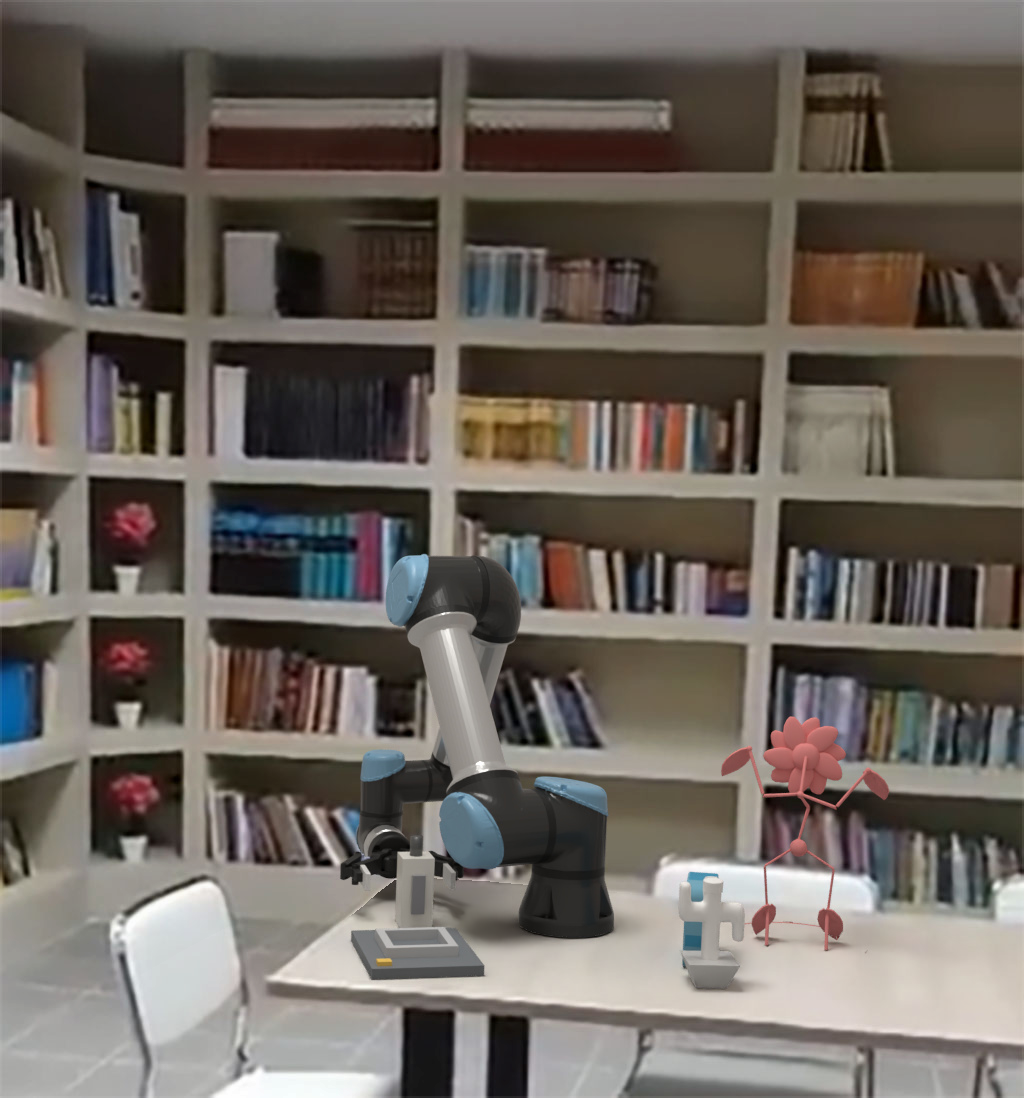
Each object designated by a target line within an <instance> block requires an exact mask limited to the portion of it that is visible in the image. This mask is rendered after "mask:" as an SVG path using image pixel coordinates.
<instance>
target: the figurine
mask: <svg viewBox="0 0 1024 1098" xmlns="http://www.w3.org/2000/svg"><path fill="white" fill-rule="evenodd" d="M723 891H724V880H723V879H721V878H719V876H718V877H714V876H707V877H705V878H704V880H703V901H701V902H692V901H691V885H690V883H689V882H687V881H681V882H680V884H679V888H678V893H679V894H678V915H679V918H680V920H682V921H683V922H684V921H687V922H702V941H701V951H685V950H683V949H682V950H681V949H680V950H679V952H680V955H681V957H682V958H683V960H684V963H685V965H686V967H685V968H686V971H687V973H688V976H689V978H690V980H691V982H692V983H693V985H694V986H695V988H696V989H727V988H728V987H729V985H730V984H731V982H732V981H733V979H734V977H735V975H736V974H737V972H738V971H739V968H740V967H741V964H740V963H739V962H738V961H737V959H736V958H735V957H734V955H733V954H732V952H731V951H729V950H720V938H721V937H720V933H721V931H720V930H721V923H731V937H732V940H733V941H735V942H743V940H744V938H745V920H746V919H745V917H746V913H745V907H744V906H743V903H742V904H741V903H740V902H731V901H730V902H728V901H727V902H726V901H725V902H723V901H722V893H723Z"/></svg>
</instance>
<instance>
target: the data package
mask: <svg viewBox="0 0 1024 1098" xmlns="http://www.w3.org/2000/svg"><path fill="white" fill-rule="evenodd" d="M707 876H714V877H718V878H719V874H718V873H715V872H714V873H713V872H700V871H699V872H698V871H689V872H688V875H687V879H686V882H689V883H690V885H691V901H692V902H701V901H703V880H704V878H705V877H707ZM682 937H683V940H682V950H685V951H701V941H702V922H687V921H683V936H682ZM681 965H682V966H683V967H685V968H686V965H685V963H684V960H683V958H682V964H681Z"/></svg>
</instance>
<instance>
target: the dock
mask: <svg viewBox="0 0 1024 1098" xmlns="http://www.w3.org/2000/svg"><path fill="white" fill-rule="evenodd" d="M350 934H351V935H350V941H351V943H352V945H353V947H354V949H355V951H356V952H357V955H358V956H359V958H360V960H361V963H363V966H364V968H365V969H366V971H367V973H368V976H369V977H370V979H371V980H375V981H376V980H402V979H430V978H431V979H435V978H437V979H439V978H458V977H459V978H463V977H485V964H484V963H483V961H481V959H480V958H479V956H478V955H477V954H476V953H475V951H474V950H473V949H472V947H471V946H470V945H469V943H468V942H467V940H466V939H465V938H464V937H463V935H462V934H461V933H460V931H458V929H457V928H456V927H445V926H432V927H421V928H399V927H394V928H393V927H389V928H387V927H386V928H385V927H384V928H374V929H364V930H363V929H361V930H359V929H358V930H351V933H350Z"/></svg>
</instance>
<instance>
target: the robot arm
mask: <svg viewBox="0 0 1024 1098" xmlns="http://www.w3.org/2000/svg"><path fill="white" fill-rule="evenodd" d="M518 589H519V588H518V587H517V584H516V582H515V580H514V578H513V576H512V575H511V574H510V572H509V570H507V569H506V568H505V566H503V565H502V564H501V563H499V562H497V561H496V560H494V559H492V558H490V557H487V556H483V555H471V556H470V555H428V554H426V553H422V554H421V555H420V554H419V555H418V554H417V555H406V556H403V557H401V558H400V559H399V560H398V561H396V563H395V564H394V565H393V567H392V569H391V571H390V574H389V577H388V581H387V585H386V589H385V590H386V591H385V611H386V616H387V619H388V621H389V622H390V623H391V624H393V625H394V626H397V627H399V628H400V627H404V629H405V632H406V636H407V640H408V642H409V643H410V644H411V645H412V646H414V647H416V648H419V650H420V653H421V654H420V655H421V659H422V662H423V667H424V671H425V674H426V678H427V683H428V686H429V690H430V693H431V698H432V701H433V705H434V710H435V713H436V718H437V721H438V725H439V728H438V732H437V735H436V738H435V743H434V746H433V748H432V749H433V750H432V751H431V755H430V759H429V758H428V759H416V760H406V758H405V757H406V756H405V754H404V752H402V751H400V750H397V749H396V750H395V749H381V748H380V749H371V750H368V751H366V752H365V753H364V755H363V757H362V762H361V769H360V778H359V779H360V811H359V818H358V819H359V820H358V822H359V823H358V825H357V827H356V829H355V842H356V845H357V846H358V847H357V848H358V849H359V850H358V851H354V852H353V855H352V856H350V857H349V858H347V859H346V860H344V861H343V862H341V863H340V873H339V879H340V880H341V881H345V880H349V879H351V885H352V886H358V885H361V887H362V888H363V890H364V891H365V892H371V885H372V883H371V880H372V876H374V875H377V876H380V877H382V878H384V879H389V880H394V879H395V880H396V879H397V854H398V852H410V840H408V837H406V836H405V834H403V833H402V832H403V815H404V814H403V813H404V805H405V804H420V803H433V802H435V803H436V802H441V804H440V808H439V815H438V816H439V818H440V821H439V822H438V825H439V832H440V836H441V839H442V843H443V845H444V847H445V850H446V851H447V852H448V855H449V856H450V857H449V856H445V855H443V854H439V853H437V852H435V851H434V850H428V851H427V852H430V854H431V855H432V856H433V857H434V858H435V867H434V877H439V878H442V881H443V882H444V884H445V885H446V886H447V887H448V889H450V891H451V890H456V884H457V883H456V881H458V879H463V878H464V869H465V868H466V869H470V870H471V869H472V870H474V869H477V870H478V869H483V870H493V869H496V868H502V867H503V868H505V867H513V866H525V865H531V874H530V879H529V881H528V883H527V887H526V890H525V892H524V895H523V898H522V901H521V903H520V906H519V910H518V921H517V923H518V925H519V927H520V928H522V929H523V930H526V931H528V932H530V933H534V934H537V935H543V936H548V937H549V936H550V937H555V938H556V937H557V938H573V939H575V938H592V937H599V936H602V935H605V934H608V933H610V932H612V931H613V930H614V926H615V924H614V923H615V913H614V909H613V905H612V902H611V898H610V895H609V891H608V888H607V887H608V886H607V883H606V879H605V878H606V877H605V876H606V873H605V872H606V857H607V856H606V853H607V852H606V850H607V831H608V830H607V829H608V817H609V809H608V808H609V806H608V796H607V792H606V791H605V789H604V788H603V787H601V786H599V785H597V784H594V783H590V782H587V781H581V780H576V779H570V778H564V777H557V776H538V777H537V778H535V781H534V783H533V787H534V788H523V786H522V783H521V779H520V776H519V773H518V771H517V770H515V769H514V768H512V767H510V766H508V765H507V764H506V761H505V756H504V753H503V750H502V746H501V742H500V739H499V735H498V732H497V731H498V730H497V727H496V724H495V723H496V722H495V720H494V716H493V713H492V708H491V703H492V700H493V696H494V692H495V689H496V686H497V682H498V678H499V677H500V672H501V669H502V666H503V661H504V659H505V656H506V652H507V648H508V646H509V645H510V644H513V643H514V642H515V640H516V639H517V637H518V632H519V629H520V625H521V619H522V604H521V603H522V602H521V597H520V591H519V590H518ZM359 883H360V884H359Z"/></svg>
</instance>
